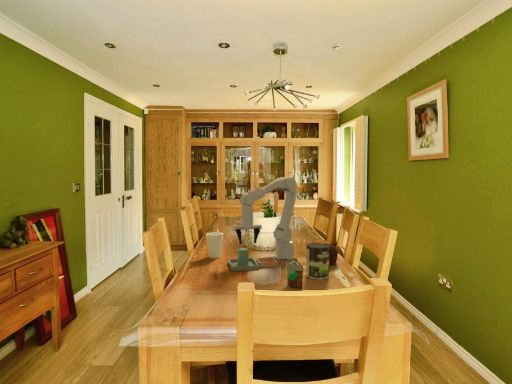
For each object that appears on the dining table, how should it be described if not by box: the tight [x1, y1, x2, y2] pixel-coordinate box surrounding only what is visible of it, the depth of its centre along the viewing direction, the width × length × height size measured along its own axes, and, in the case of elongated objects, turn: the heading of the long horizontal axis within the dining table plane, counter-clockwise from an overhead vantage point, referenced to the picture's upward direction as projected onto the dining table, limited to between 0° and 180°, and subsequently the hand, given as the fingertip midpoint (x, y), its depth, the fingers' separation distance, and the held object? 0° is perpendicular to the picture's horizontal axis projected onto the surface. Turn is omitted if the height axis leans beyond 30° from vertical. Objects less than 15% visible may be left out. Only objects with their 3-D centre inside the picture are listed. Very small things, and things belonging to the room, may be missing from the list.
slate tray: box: [227, 257, 260, 272], centre depth 168 cm, size 13×14×2 cm
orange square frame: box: [255, 256, 279, 269], centre depth 171 cm, size 9×9×2 cm
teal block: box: [237, 247, 249, 266], centre depth 168 cm, size 4×4×8 cm
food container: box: [284, 257, 304, 290], centre depth 140 cm, size 12×6×10 cm, turn 5°
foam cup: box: [205, 231, 224, 259], centre depth 185 cm, size 10×9×13 cm
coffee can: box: [305, 242, 330, 281], centre depth 152 cm, size 10×10×14 cm
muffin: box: [324, 243, 339, 267], centre depth 172 cm, size 12×11×10 cm
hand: (247, 243), depth 173 cm, fingers open, 7 cm apart
